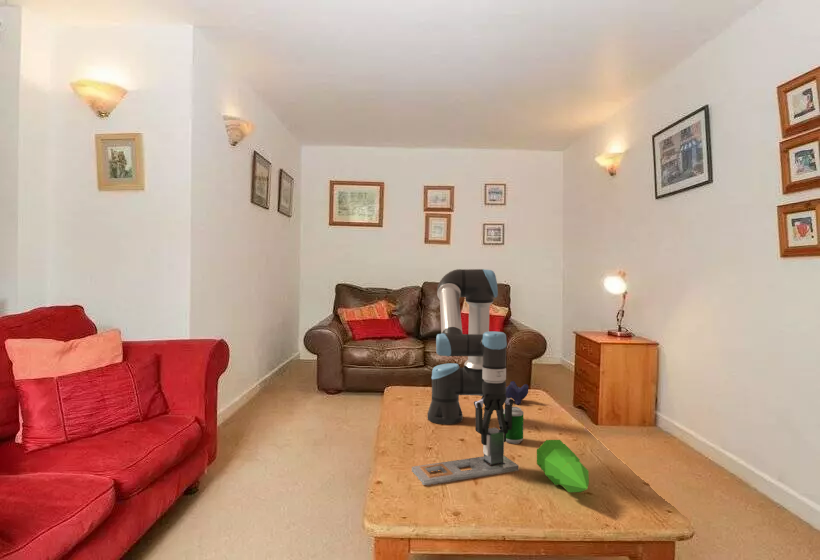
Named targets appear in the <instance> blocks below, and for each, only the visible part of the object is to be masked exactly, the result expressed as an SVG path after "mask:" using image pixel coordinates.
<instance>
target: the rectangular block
mask: <svg viewBox="0 0 820 560" xmlns="http://www.w3.org/2000/svg"><path fill="white" fill-rule="evenodd" d="M488 435H490V456H487V455H485V454H484V453H483V456H484V461H486V462H487V463H488V465H489V466H497V465H499V464H503V455H504V454H503V446H504V447H505V442H504V432H503V431H501V430H500V428H499V427H498V428H497V427H492V428H491V427H489V429H488Z"/></svg>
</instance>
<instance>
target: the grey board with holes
mask: <svg viewBox="0 0 820 560" xmlns="http://www.w3.org/2000/svg"><path fill="white" fill-rule="evenodd" d="M519 467H520V466H519V464H518V463H516V462H514V461H513V460H511V459H510V458H509V457H507V456H505V454H503V464H498V465H492V466H491V465H489V464H488V463H487V462H486V461H484V455H482V456H477V457H470V458H462V459H457V460H455V459H454V460H450V461H443V462H436V463H429V464H422V465H414V466H411V473H412V472H413V473H414V474H415V475H416V476H417V477H418V479H419V480H420V481H421V482H422V483H421V482H420V481H419V480H418V479H417V480H418V481H419V482H420V483H421V485H422V486H423V485H427V486H431V484H433V485H438V483H439V484H444V483H450V482H451V483H452V482H456V481H457V482H458V481H463V480H469V479H475V478H482V477H487V476H494V475H499V474H507V473H513V472H518V471H520V470H519V469H520V468H519ZM461 468H470V469H468V470H467V469H466V470H461ZM438 470H441V471H442V472H443V473H442V472H441V471H440V472H441V473H437V474H431V473H432V472H431V471H436V472H439V471H438ZM429 472H430V473H429ZM413 473H412V474H413ZM414 474H413V475H414ZM415 475H414V476H415ZM416 476H415V477H416ZM417 477H416V478H417Z"/></svg>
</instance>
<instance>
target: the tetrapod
mask: <svg viewBox="0 0 820 560" xmlns="http://www.w3.org/2000/svg"><path fill="white" fill-rule="evenodd" d="M529 387H530V386H529V385H528V384H527V383H526V384H523V385H522V386H521V387H520V386H518V385H517V383H516V382H515V381H514V380H513V381H510V382H509V384H508V386H507V385H506V393H505V395H506V397H507V398H511V399H513V400H514V403H515V405H518V406H519V405H521V403H522V401H523V400H524V399H526V397H527V396H528V393H529V389H530V388H529Z"/></svg>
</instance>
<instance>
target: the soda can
mask: <svg viewBox="0 0 820 560" xmlns="http://www.w3.org/2000/svg"><path fill="white" fill-rule="evenodd" d="M503 409H504V412H503V413H504V418H505V408H503ZM523 440H524V411H523V410H522V408H520V407H519V406H512V429H511V430H508V433H507V434H506V442H505V443H508V444H512V445H514V444H515V445H517V444H520V443H521V442H522V441H523Z"/></svg>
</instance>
